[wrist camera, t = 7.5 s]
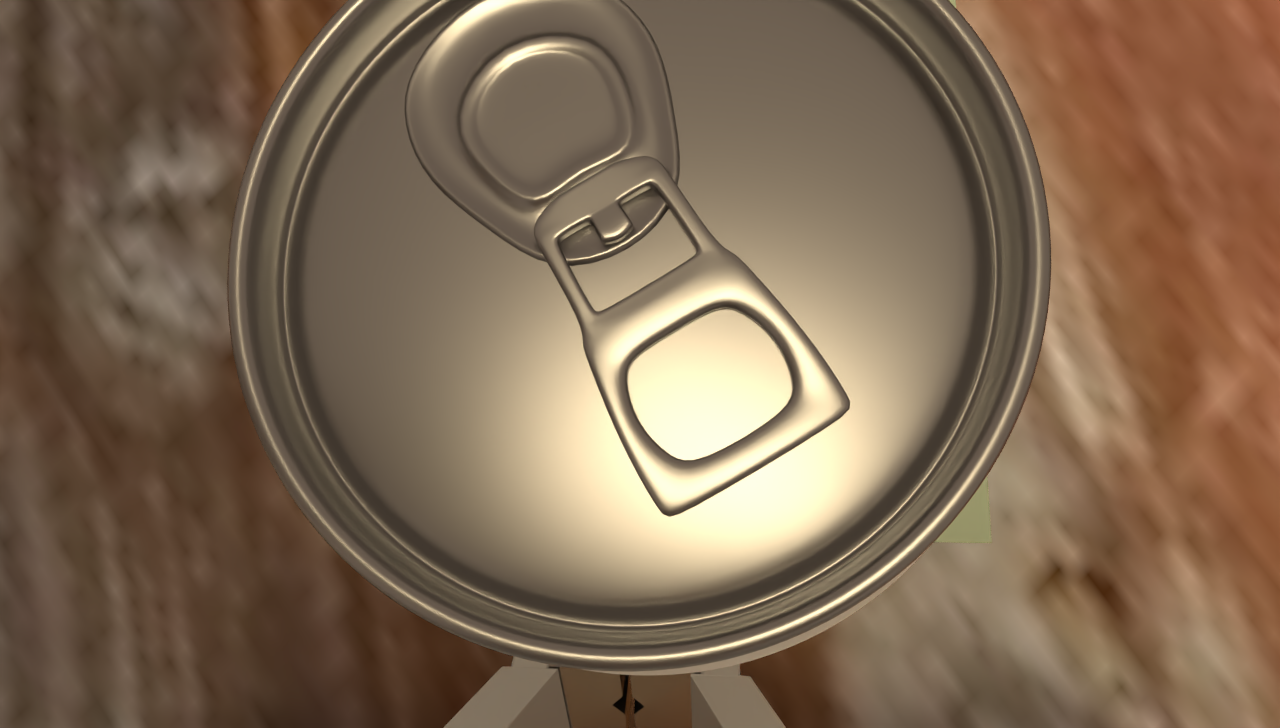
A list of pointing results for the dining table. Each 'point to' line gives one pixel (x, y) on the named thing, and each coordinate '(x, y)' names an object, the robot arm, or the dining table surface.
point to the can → (638, 310)
